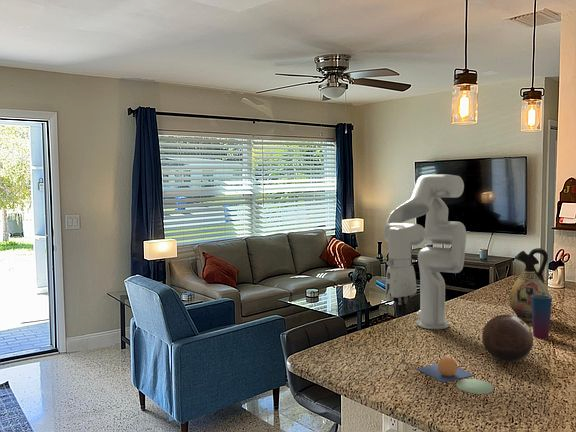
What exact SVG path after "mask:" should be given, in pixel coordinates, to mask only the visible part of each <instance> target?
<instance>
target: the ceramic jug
mask: <svg viewBox="0 0 576 432" xmlns="http://www.w3.org/2000/svg"><path fill="white" fill-rule="evenodd" d="M535 254H540V255H542V256H543V258H542V263H541V265H540V267H539V268H538V271H537V269H536V267H535V265H539V263H540V261H539V259H537V257H535V256H534V255H535ZM548 259H549V256H548V252H547V251H546V250H545V249H544V248H540V247H539V248H537V247H536V248H533V249H532V250H531V251H529V253H526V252H525V250H522V251H520V252H519V253H518V254H516V255H515V256H514V260H515V261H518V262H521V263H523V264H524V265H525V268H524V270H523V272H522V273H521V274H520V275H519V277H518V278H517V279H516V281H514V284H513V285H512V287H511V290H510V293H509V298H508V299H509V306H510V308H511V310H512V311H513V312H514V313H515V316H516V317H518V318H519V319H521V320H522V321H524V322H528V323H529V322H530V323H533V320H532V300H531V296H532V295H536V294H539V295H548V296H551V295H550V291H549V289H548V287H547V285H546V284H545V279H544V275H543V272H544V271H545V269H546V266H547V263H548Z"/></svg>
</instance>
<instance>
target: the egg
mask: <svg viewBox="0 0 576 432" xmlns="http://www.w3.org/2000/svg"><path fill="white" fill-rule="evenodd" d="M437 364H438V369H439V371H440V373H441V374H442V375H444V376H446V377H451V376H453V375H455V374H456V372H457V369H458V368H459V367H458V364H457V362H456V360H454V359H453V358H452V357H449V356H448V357H447V356H446V357H443V358H441V359H440V360H439V361H438V363H437Z"/></svg>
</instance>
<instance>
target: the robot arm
mask: <svg viewBox="0 0 576 432" xmlns="http://www.w3.org/2000/svg"><path fill="white" fill-rule="evenodd" d="M464 189H465V183H464V180H463V179H462V177H461V176H460V175H456V174H455V175H454V174H448V173H447V174H446V173H444V174H443V173H440V174H438V173H437V174H435V173H434V174H432V173H431V174H422V175H421V176H419V177H417V178H416V181H415V183H414V185H413V188H412V190H411V193H410V195H409V197H408V200H407V201H405V202H404V203H402V204H400V205H399V206H397V207H396V208H394V209H393V210H392V211H391V212H390V214H389V215H388V218H386V219H387V220H386V222H385V224H384V227H383V234H382V235H383V239H384V241H385V242H386V243H388V261H387V260H386V265H387V268H386V275H385V294H386V295H387V296H386V300H387V301H392V302H393V304H395V313H396V315H398V316H400V317H404V316H405V317H406V315H407V313H406V312H407V311H406V310H407V308H406V307H407V305H406V304H408V301H409V299H411V298H412V297H414V296H415V294H416V293H417V278H416V277H417V276H416V271H415V268H414V265H412V246H417V245H421V243H423V242H424V240H425V242H427V243H428V244H430V245H440V246H451V247H450V248H449V247H436V246H426V247H423V248H420V250H419V252H418V254H417V262H418V268H419V279H420V283H419V284H420V285H419V286H420V287H419V289H420V290H419V292H420V293H419V294H420V299H419V301H420V305H419V306H420V309H419V310H418V311H417V312H415V316H417V317H418V319H417V320H416V321H415V322H416V325H417V327H419V328H423V329H427V330H443V329H447V328H449V327H450V323H449V321H447V320H446V283H445V279H444V277H443V275H442V274H441V273H448V274H449V273H453V274H458V273H461V272H462V270H463V268H464V264H465V256H466V255H465V254H466V251H465V250H466V245H467V243H466V242H467V230H466V226H465V225H464V223H462V222H461V221H455V220H454V221H451V220H449V208H448V207H449V206H447V204H446V203H445V201H443V199H442V198H454V199H455V198H456V199H457V198H459V197H461V196H462V195H463V193H464ZM424 215H425V224H424V225H425V226H423V225H421V224H418V223H408V221H410V220H412V219H413V220H414V219H417V218H419V217H423V216H424Z"/></svg>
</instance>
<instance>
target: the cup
mask: <svg viewBox="0 0 576 432" xmlns="http://www.w3.org/2000/svg"><path fill="white" fill-rule="evenodd" d="M531 300H532V320H533V322H532V336H533V338H537V339H549V335H550V334H549V333H550V323H551V310H552V301H553V297H552V296H551V295H550V296H548V295H539V294H536V295H532V296H531Z"/></svg>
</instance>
